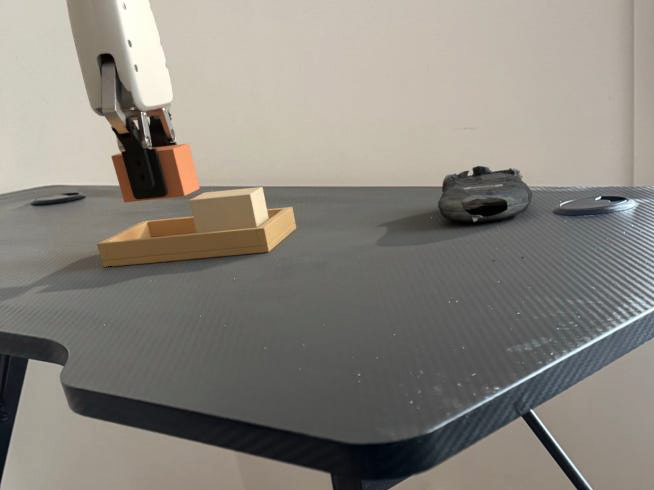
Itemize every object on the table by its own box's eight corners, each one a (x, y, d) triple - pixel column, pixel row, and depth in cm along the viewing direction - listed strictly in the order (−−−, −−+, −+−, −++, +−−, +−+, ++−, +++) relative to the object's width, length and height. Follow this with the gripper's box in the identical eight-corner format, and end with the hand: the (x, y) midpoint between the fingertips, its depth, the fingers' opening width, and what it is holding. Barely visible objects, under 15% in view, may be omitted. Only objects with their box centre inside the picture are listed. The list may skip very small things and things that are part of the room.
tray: (103, 267, 88) (96, 243, 87) (148, 242, 98) (142, 221, 97) (269, 252, 86) (264, 227, 85) (296, 228, 97) (292, 206, 96)
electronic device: (436, 221, 101) (438, 222, 87) (437, 164, 99) (439, 156, 85) (521, 224, 102) (536, 226, 88) (524, 168, 99) (540, 160, 86)
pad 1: (124, 202, 88) (110, 155, 86) (141, 195, 92) (129, 150, 90) (184, 196, 88) (173, 148, 85) (200, 188, 92) (189, 143, 90)
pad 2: (199, 245, 90) (188, 200, 88) (213, 235, 94) (203, 192, 92) (259, 239, 89) (250, 194, 87) (271, 230, 94) (262, 186, 91)
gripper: (97, -27, 87) (153, 185, 97) (15, -38, 73) (90, 211, 83) (174, -37, 87) (222, 177, 97) (106, -51, 72) (171, 202, 82)
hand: (161, 190), depth 90 cm, fingers closed on pad 1, 5 cm apart
